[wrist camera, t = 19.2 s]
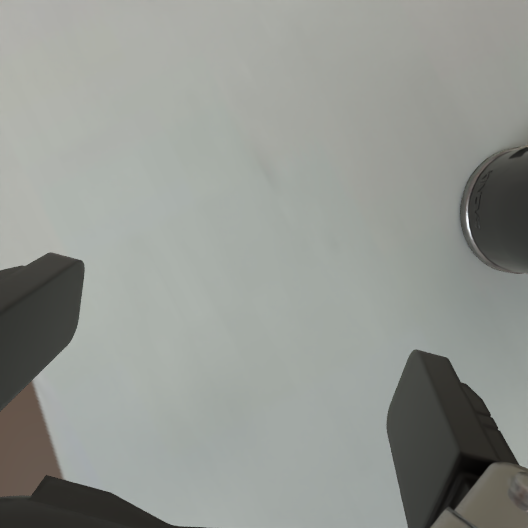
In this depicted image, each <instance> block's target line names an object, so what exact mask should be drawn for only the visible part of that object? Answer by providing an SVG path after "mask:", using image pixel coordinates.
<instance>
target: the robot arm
mask: <svg viewBox="0 0 528 528" xmlns="http://www.w3.org/2000/svg"><path fill="white" fill-rule="evenodd" d="M527 146H528V145H526V146H523V147H517V148H512V149H507V150H504V151H501V152H498V153H496V154H494V155H492V156H491V157H489V158H488V159H486V160H485V161H484V162H483V163H482V164H481V165H480V166H479V167H478V168H477V169H476V170H475V171H474V173H473V174H472V176H471V177H470V179H469V181H468V183H467V185H466V187H465V190H464V193H463V197H462V201H461V210H460V217H461V226H462V230H463V234H464V237H465V239H466V241H467V243H468V245H469V247H470V248H471V250H472V251H473V253H474V254H475V255H476V256H477V257H478V258H479V259H480V260H481V261H482V262H484V263H485V264H486V265H488V266H490V267H492V268H494V269H497V270H499V271H504V272H509V273H516V274H524V273H525V274H528V147H527ZM83 280H84V263H83V261H81V260H78V259H74V258H70V257H67V256H63V255H59V254H55V253H47V254H46V255H44V256H42V257H40V258H39V259H37V260H35V261H33V262H32V263H30V264H28V265H26V266H18V267H14V268H9V269H5V270H0V411H1V410H2V409H3V408H4V407H5V406H6V405H7V404H8V403H9V402H10V401H11V400H12V399H13V398H14V397H15V396H16V395H17V394H18V393H20V392H21V390H22V389H24V388H25V387H26V386H27V385H28V383H30V382H31V381H32V380H33V379H34V378H35V377H36V376H37V375H38V374H39V373H40V372H41V371H42V370H43V369H44V368H45V367H46V366H47V365H48V364H49V363H50V362H51V361H52V360H53V359H54V358H55V357H56V356H57V355H58V354H59V353H60V352H61V351H62V350H63V349H64V348H65V347H66V346H67V345H68V344H69V343H70V341H71V339H72V338H73V336H74V333H75V331H76V328H77V325H78V320H79V312H80V304H81V296H82V288H83ZM490 416H491V414H490V412H489V411H488V409H487V407H486V405H485V403H484V402H483V400H482V399H481V398H480V397H479V396H478V395H477V394H476V393H475V392H474V391H473V390H472V389H471V388H470V387H469V386H468V385H467V384H464V383H461V382H460V380H459V378H458V376H457V374H456V372H455V370H454V369H453V367H452V365H451V363H450V361H449V359H448V358H446V357H442V356H439V355H435V354H431V353H427V352H423V351H420V350H414V351H413V352H412V353H411V354H410V356H409V358H408V360H407V363H406V365H405V368H404V370H403V373H402V376H401V378H400V381H399V383H398V386H397V388H396V391H395V393H394V396H393V399H392V401H391V404H390V407H389V411H388V416H387V434H388V438H389V443H390V447H391V452H392V456H393V461H394V465H395V470H396V475H397V479H398V484H399V488H400V493H401V497H402V502H403V506H404V511H405V515H406V520H407V524H408V528H528V469H527V468H525V467H522V466H520V465H519V464H518V462H517V460H516V458H515V457H514V455H513V453H512V451H511V450H510V448H509V446H508V444H507V443H506V441H505V439H504V437H503V435H502V434H501V432H500V431H498V427H497V425H496V423H495V421H494V419H493V418H491V417H490ZM0 528H204V527H180V526H173V525H170V524H168V523H166V522H164V521H162V520H160V519H158V518H156V517H154V516H153V515H151V514H149V513H147V512H145V511H143V510H142V509H140V508H138V507H136V506H134V505H132V504H131V503H129V502H127V501H125V500H123V499H121V498H119V497H118V496H116V495H114V494H112V493H110V492H106V491H103V490H99V489H95V488H92V487H88V486H84V485H81V484H77V483H73V482H69V481H66V480H62V479H58V478H55V477H51V476H47V475H46V476H45V477H44V479H43V480H42V482H41V483H40V484H39V486H38V487H37V489H36V490H35V491H34V493H33V494H32V495H31V496H7V497H0Z"/></svg>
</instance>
